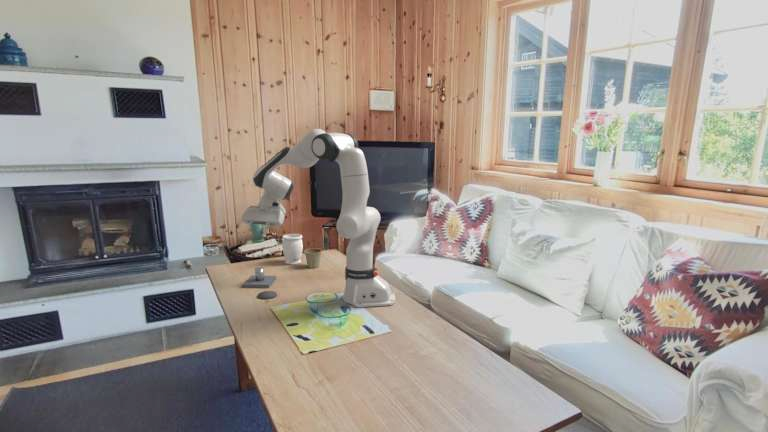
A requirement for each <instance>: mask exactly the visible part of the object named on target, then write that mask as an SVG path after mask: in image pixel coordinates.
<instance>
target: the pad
mask: <svg viewBox="0 0 768 432" xmlns="http://www.w3.org/2000/svg"><path fill="white" fill-rule="evenodd" d="M277 296H278V293H277V292H276V291H273V290H264V291H261V292H259V293H257V298H258V299H260V300H270V299H274V298H277Z"/></svg>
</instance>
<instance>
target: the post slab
mask: <svg viewBox="0 0 768 432" xmlns="http://www.w3.org/2000/svg"><path fill="white" fill-rule="evenodd" d="M276 280H277V275H264V281H255V274H254V275H253V274H252V275H250V276H249V277H248V278H247V279H246V280H245V281H244V282H243V284H242V288H247V289H248V288H249V289H250V288H253V289H254V288H256V289H257V288H259V289H260V288H261V289H269V288H271V286H272V285H273V283H274V282H275V281H276Z"/></svg>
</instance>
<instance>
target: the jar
mask: <svg viewBox="0 0 768 432" xmlns="http://www.w3.org/2000/svg"><path fill="white" fill-rule="evenodd" d="M302 239H303V235H302V234H300V233H287V234H284V235H282V250H283V256H284V259H285V261H284V262H285V264H286V265H294V266H295V265H298V264H301V263H302V260H301V258H302V256H303V252H304V250H303V249H304V248H303V247H304V246H303V240H302Z"/></svg>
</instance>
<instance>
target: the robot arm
mask: <svg viewBox="0 0 768 432" xmlns="http://www.w3.org/2000/svg"><path fill="white" fill-rule="evenodd" d="M320 160H322V161H327V162H328V163H329V162H330V163H334V162H336V163H337V164H338V165H339V166H338V167H339V171H340V180H341V181H340V182H341V189H342V190H341V192H342V200H341V201H342V203H341V209H340V214H339V217H338V219H337V221H336V227H335V228H336V231H337V232H338V235H340V236H341V237H342V238H344V239H347V240H349V239H350V240H349V242H348V245H347V247H346V250H345V251H346V253H345V254H346V256H345V257H346V258H345V259H346V260H345V261H346V264H345V270H344V275H345V276H344V278H345V286H344V292H343V295H342V300H343V301H344V302H345V303H346V304H349V305H352V306H354V308H366V307H367V308H368V307H388V306H393V304H395V302H396V294H395V293H394V292H393V291H392V290H391V288H390V285H389V282H388V281H387V280H385V279H383V278H382V277H381V276H379V271H378V268H377V266H374V264H373V258H374V255H373V254H374V245H375V240H376V235H377V230H378V228H379V225H380V222H381V219H382V217H381V214H380V212H379V211H378V209H377V208H375V207H372V206H367V205H368V199H369V197H370V194H371V193H370V191H371V190H370V189H371V188H370V181H369V180H370V179H369V172H368V166H367V161H366V157H365V154H364V152H363V150H362V149H360V148H359V141H358V139H357V138H356V137H355V136H354V135H353V134H351V133H348V132H347V133H346V132H344V133H342V132H340V133H339V132H328V133H327V132H326V131H325V130H323V129H321V128H313V129H311V130H310V131H309V132H308V133H307V134H305V135H304V136H303V137H302V138H301V139H300V141H299V142H298V143H296V144H295V145H293V146H290V147H289V146H287V147H284V148H282V149H281V150H280V151H279V152H277V153H276V154H275V155H273V156H272V157H271V159H269V160H268V161H267V162H266V163H264V164H263V165H261V166H260V167H258V168H257V169H256V171H254V174H253V176H252V180H253V183H254V185H255V187H258V188H260V189H262V190H263V194H262V196H261V197H260V200H259V201H258V203H257V205H250V206H249V207H246V209H245V211H244V212H243V214H242V215H241V217H240V219H241V221H242V222H243V224H245V225H246V224H248V225H249V228H248V231H249V232H250V233H252V227H251V224H253V223H263V228H262V230H261V232H262V233H263V234H265V233H266V232H267V231H268V230H269V229H270V228H271V227H273V226H274V227H281V226H283V224H284V220H285V217H286V216H285V214H286V213H287V210H286V209H285V207H284V206H283V205H282V203H280V201H283V200H287V199H288V198H290V196H291V194H292V192H293V190H294V183H293V181H292V180H291V179H289V178H287V177H286V176H284V175H282V174H280V173H279V172H276V169H278V167H280V166H282V165H289V166H293V167H297V168H302V169H308V168H312V167H313V166H314V165H316V164H317V162H318V161H320Z"/></svg>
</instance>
